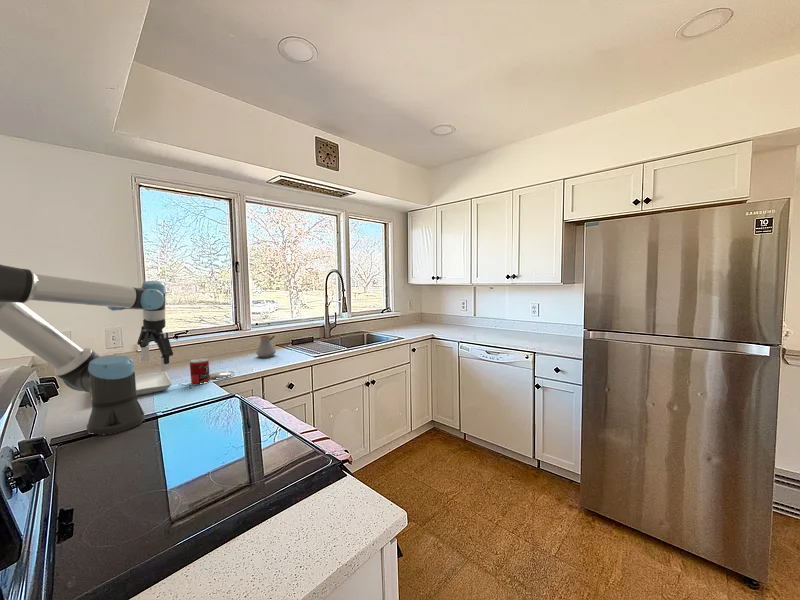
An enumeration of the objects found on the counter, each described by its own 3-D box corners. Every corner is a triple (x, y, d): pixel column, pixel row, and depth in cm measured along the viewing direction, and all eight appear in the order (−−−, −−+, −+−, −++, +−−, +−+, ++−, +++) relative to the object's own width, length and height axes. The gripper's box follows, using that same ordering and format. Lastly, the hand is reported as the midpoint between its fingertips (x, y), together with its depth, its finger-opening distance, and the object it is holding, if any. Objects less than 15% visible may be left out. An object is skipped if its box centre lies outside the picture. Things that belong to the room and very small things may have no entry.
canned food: (201, 385, 158) (200, 362, 157) (187, 384, 160) (185, 361, 159) (213, 380, 166) (212, 358, 165) (199, 379, 167) (198, 357, 166)
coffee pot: (253, 356, 215) (252, 333, 214) (271, 353, 222) (270, 330, 221) (266, 362, 199) (264, 337, 198) (285, 358, 206) (283, 334, 205)
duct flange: (222, 380, 166) (222, 377, 166) (202, 378, 168) (201, 376, 168) (239, 373, 177) (239, 370, 177) (220, 372, 180) (219, 369, 180)
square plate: (94, 390, 155) (93, 382, 155) (166, 378, 172) (166, 370, 172) (91, 407, 134) (90, 398, 134) (173, 391, 152) (172, 382, 151)
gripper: (183, 323, 139) (182, 371, 144) (145, 310, 149) (146, 355, 153) (164, 327, 132) (164, 377, 137) (126, 313, 142) (127, 360, 146)
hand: (155, 365), depth 145 cm, fingers open, 13 cm apart
